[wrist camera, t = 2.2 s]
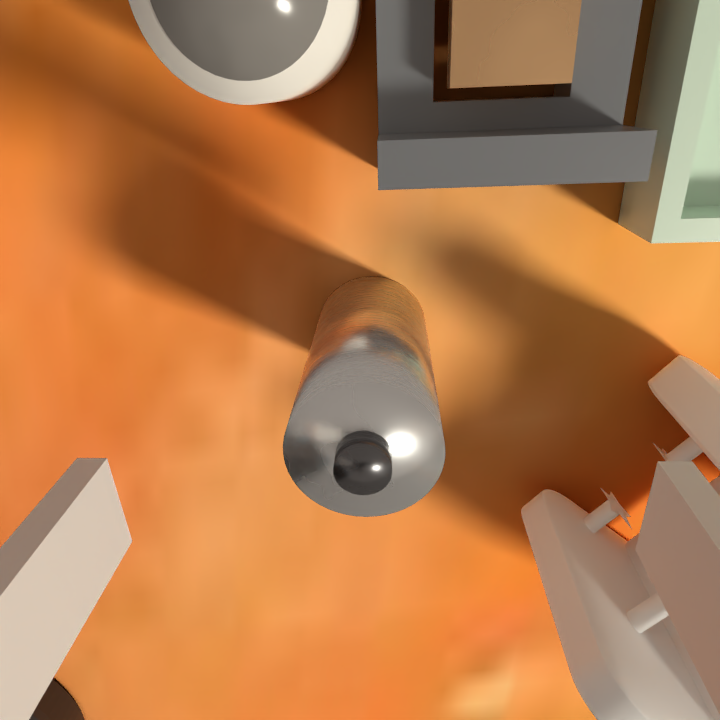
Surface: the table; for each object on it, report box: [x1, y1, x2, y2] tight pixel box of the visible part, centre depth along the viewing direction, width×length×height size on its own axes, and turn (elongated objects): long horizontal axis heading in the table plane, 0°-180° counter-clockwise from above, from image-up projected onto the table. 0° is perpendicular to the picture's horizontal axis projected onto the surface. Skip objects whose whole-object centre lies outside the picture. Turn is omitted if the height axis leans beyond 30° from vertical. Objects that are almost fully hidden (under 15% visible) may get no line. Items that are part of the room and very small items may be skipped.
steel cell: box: [283, 276, 445, 517], centre depth 19 cm, size 5×5×10 cm
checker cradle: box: [376, 0, 658, 190], centre depth 16 cm, size 8×9×5 cm
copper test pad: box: [447, 0, 582, 88], centre depth 16 cm, size 4×4×1 cm
